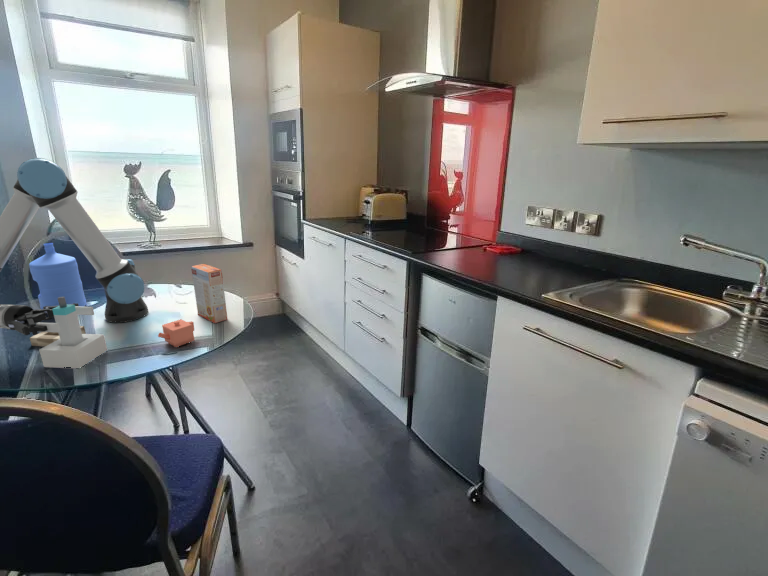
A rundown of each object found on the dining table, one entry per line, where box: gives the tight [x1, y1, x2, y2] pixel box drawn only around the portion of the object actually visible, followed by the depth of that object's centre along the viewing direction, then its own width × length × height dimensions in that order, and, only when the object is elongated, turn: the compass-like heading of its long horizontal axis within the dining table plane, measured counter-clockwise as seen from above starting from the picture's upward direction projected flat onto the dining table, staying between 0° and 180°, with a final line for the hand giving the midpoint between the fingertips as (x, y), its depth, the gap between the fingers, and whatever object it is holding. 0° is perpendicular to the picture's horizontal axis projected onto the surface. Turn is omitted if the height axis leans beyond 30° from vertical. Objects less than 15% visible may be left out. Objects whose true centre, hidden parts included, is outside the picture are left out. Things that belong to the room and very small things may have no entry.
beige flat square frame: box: [29, 325, 87, 347], centre depth 149 cm, size 11×11×3 cm
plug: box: [52, 297, 84, 346], centre depth 132 cm, size 4×4×18 cm
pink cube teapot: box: [157, 318, 196, 348], centre depth 145 cm, size 8×12×8 cm, turn 141°
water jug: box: [28, 242, 87, 309], centre depth 174 cm, size 16×16×28 cm
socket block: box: [38, 333, 108, 369], centre depth 135 cm, size 12×12×6 cm
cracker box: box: [190, 263, 228, 324], centre depth 166 cm, size 14×6×21 cm, turn 48°
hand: (76, 319), depth 131 cm, fingers open, 13 cm apart
